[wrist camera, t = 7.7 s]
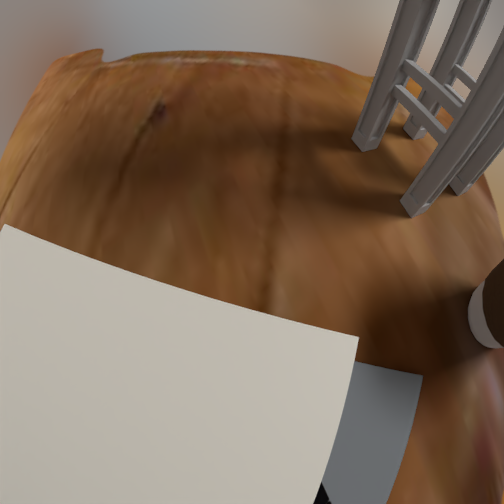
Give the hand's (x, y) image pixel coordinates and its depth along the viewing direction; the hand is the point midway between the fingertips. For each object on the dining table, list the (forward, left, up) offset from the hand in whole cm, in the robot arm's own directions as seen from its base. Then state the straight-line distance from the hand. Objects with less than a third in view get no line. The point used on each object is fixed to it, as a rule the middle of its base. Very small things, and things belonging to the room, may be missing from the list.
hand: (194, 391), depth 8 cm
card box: (-1, 0, -7) cm, 7 cm away
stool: (+28, -13, -14) cm, 34 cm away
